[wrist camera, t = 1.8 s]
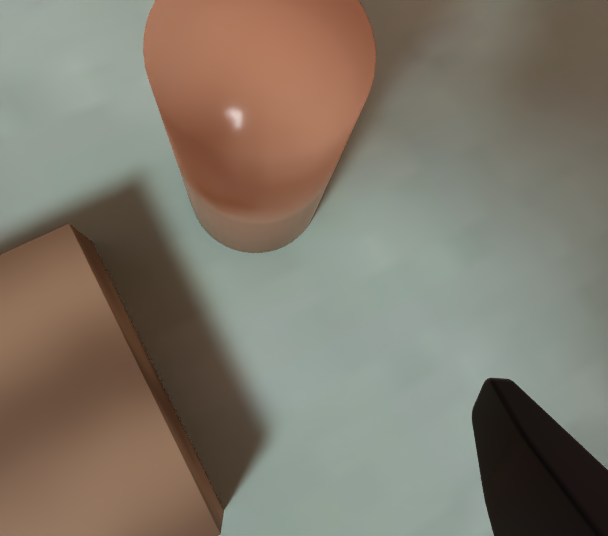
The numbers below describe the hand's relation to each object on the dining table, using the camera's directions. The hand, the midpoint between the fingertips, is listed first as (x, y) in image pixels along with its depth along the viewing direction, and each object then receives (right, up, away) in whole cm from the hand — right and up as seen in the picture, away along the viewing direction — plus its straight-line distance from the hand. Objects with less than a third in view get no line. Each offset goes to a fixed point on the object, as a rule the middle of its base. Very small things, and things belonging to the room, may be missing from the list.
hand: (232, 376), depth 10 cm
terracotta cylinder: (-1, +5, +14) cm, 15 cm away
